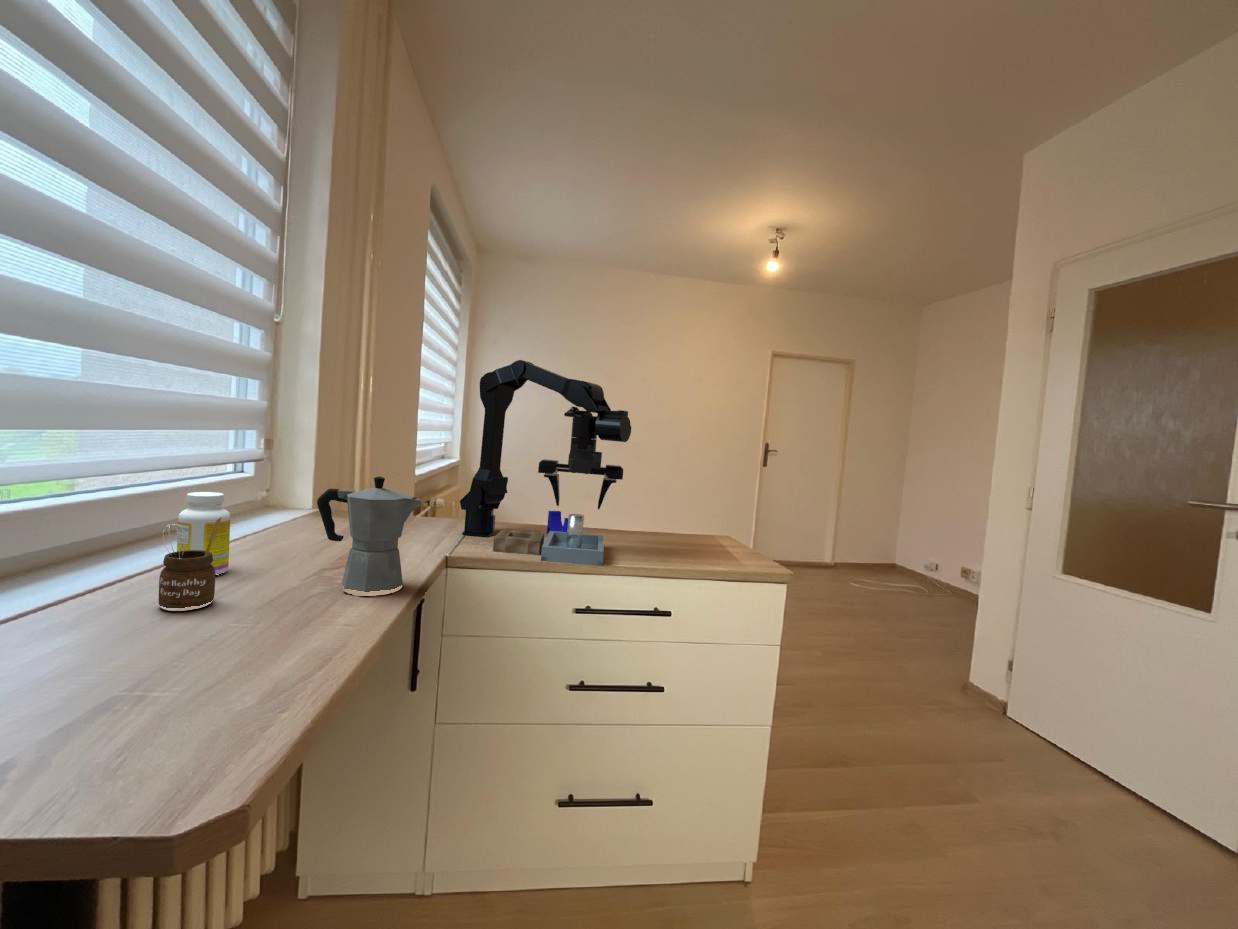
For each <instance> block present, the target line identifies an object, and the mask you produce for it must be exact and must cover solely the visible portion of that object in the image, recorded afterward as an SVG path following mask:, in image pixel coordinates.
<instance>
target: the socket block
mask: <svg viewBox="0 0 1238 929" xmlns="http://www.w3.org/2000/svg"><path fill="white" fill-rule="evenodd" d="M544 542H545V532H541V531H539V532H538V531H527V530H526V531H525V530H513V529H501V530H500V531H499V532H498V533H496V535H495V536H494V537H493V544H492V552H500V553H510V554H512V553H513V554H525V555H537V556H538V555H540V554H541V552H542V545H543V544H544Z"/></svg>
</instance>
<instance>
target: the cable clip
mask: <svg viewBox="0 0 1238 929" xmlns="http://www.w3.org/2000/svg"><path fill="white" fill-rule="evenodd" d="M547 513H548V514H547V527H546V533H547V534H549V532H550V531H558V532H567V528H568V517H564V520H563V521H564V522H562V511H560V510H548V512H547Z"/></svg>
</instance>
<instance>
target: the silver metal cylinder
mask: <svg viewBox="0 0 1238 929" xmlns="http://www.w3.org/2000/svg"><path fill="white" fill-rule="evenodd" d="M567 518H568V528H567V540H566V547H569V548H581V546H582V535H583V534H584V523H585V522H584V521H585V515H584V514H580V513H569V514H568V517H567Z"/></svg>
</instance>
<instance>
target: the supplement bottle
mask: <svg viewBox="0 0 1238 929" xmlns="http://www.w3.org/2000/svg"><path fill="white" fill-rule="evenodd" d="M224 496H225V494H224V493H222V492H215V491H213V492H212V491H198V492H188V493H187V494H186V502H187V507H186V508H185V509H184V510H181V512H180V513H179V514H178V516H177V524H178V525H180V526H181V527H182V528H181V527H180V526H178V525H177V530H178V532H177V531H176V534H179V536H177V535H176V536H177V537H176V539H177V540H176V552H177V551H179V550H180V545H181V551H183V550H184V548H185V550H184V551H186V550H203V551H206V550H207V547H208V544H209V538H210V535H211V533H212V530H213V528H214V525H215V523H216V520H217V519H219V518H220V517H222V518H221V521H220V525H219V528H218V531H217V534H216V537H215V539H214V540H213V542H212V545H211V547H210V550H209V552H211V553H212V555H213V562H212V563H211V565H212V566H213V567H214V569H215V575H216V574H220V573H223V572H225V573H227V572H228V570H229V564H230V563H229V560H230V542H231V541H230V538H231V536H230V535H231V534H230V533H231V513H230V511H228V510H227V509H225V508H223V502H224V501H225V500H224V499H225V498H224ZM182 529H183V530H182ZM183 531H184V534H183ZM184 535H185V540H186V545H185V547H184V544H185V540H184ZM179 538H180V541H179V542H178V539H179ZM226 571H227V572H226Z"/></svg>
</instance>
